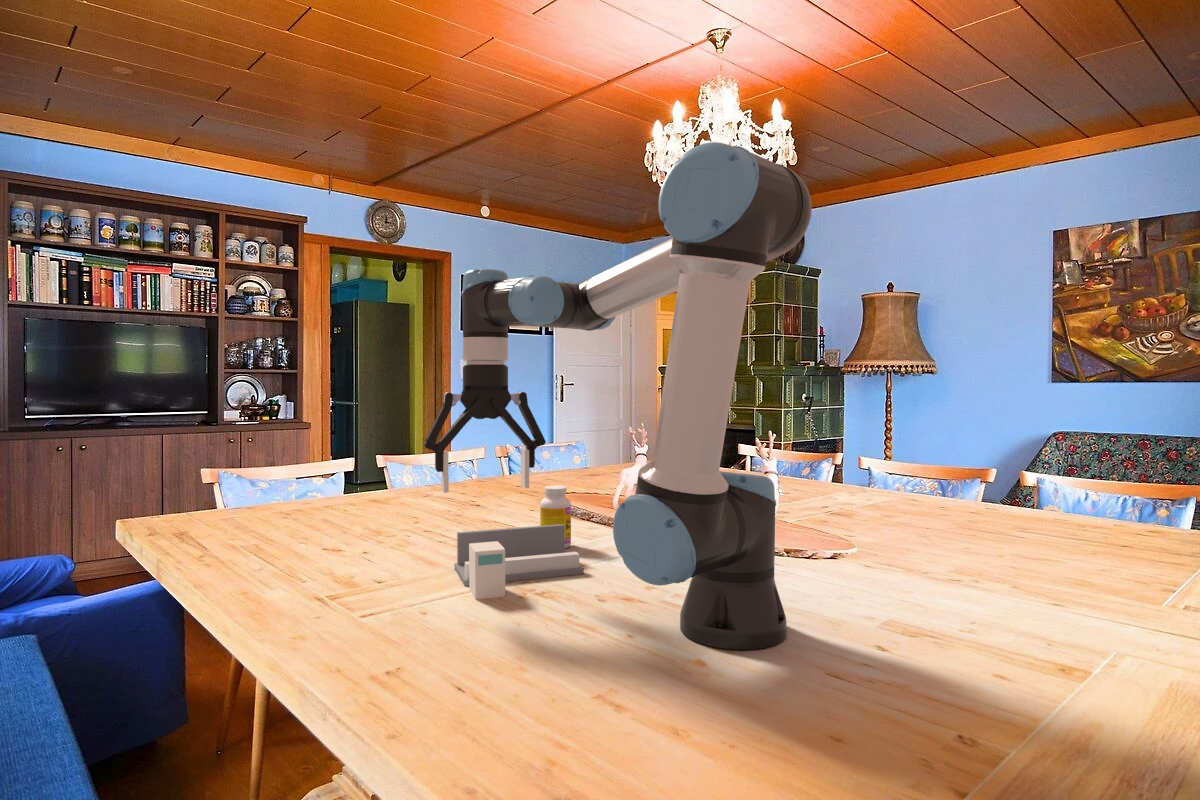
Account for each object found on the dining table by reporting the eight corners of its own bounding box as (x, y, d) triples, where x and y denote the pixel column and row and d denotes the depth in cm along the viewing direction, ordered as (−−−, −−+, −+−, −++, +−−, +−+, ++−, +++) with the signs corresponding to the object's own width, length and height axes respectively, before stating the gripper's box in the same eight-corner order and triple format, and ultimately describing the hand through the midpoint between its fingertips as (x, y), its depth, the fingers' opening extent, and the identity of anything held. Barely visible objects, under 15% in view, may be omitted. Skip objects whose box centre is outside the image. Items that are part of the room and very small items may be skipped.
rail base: (583, 573, 133) (583, 536, 132) (464, 586, 125) (464, 546, 125) (564, 558, 144) (564, 523, 144) (454, 568, 136) (454, 532, 136)
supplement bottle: (570, 550, 150) (569, 489, 150) (538, 550, 150) (538, 489, 150) (571, 542, 157) (571, 484, 156) (541, 542, 157) (541, 484, 157)
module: (505, 596, 119) (505, 549, 119) (475, 600, 118) (475, 552, 117) (498, 586, 125) (497, 541, 125) (469, 589, 123) (469, 543, 123)
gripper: (550, 364, 128) (550, 482, 129) (406, 363, 119) (407, 489, 120) (563, 363, 121) (562, 488, 122) (411, 362, 112) (412, 497, 113)
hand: (485, 489), depth 121 cm, fingers open, 13 cm apart
